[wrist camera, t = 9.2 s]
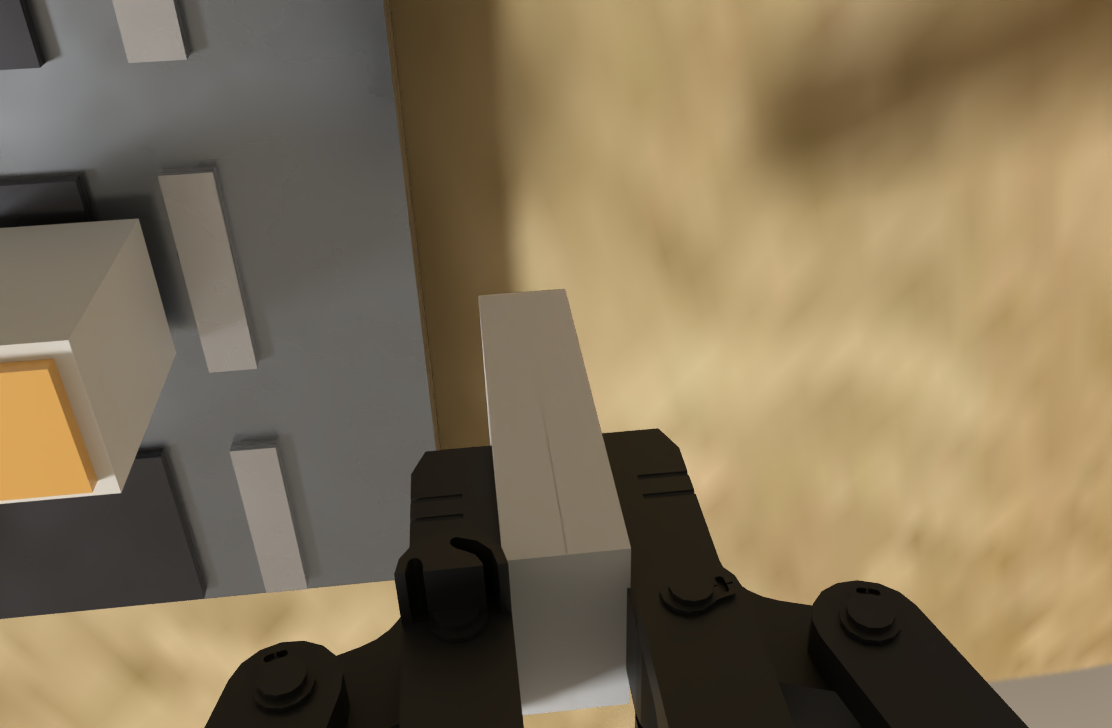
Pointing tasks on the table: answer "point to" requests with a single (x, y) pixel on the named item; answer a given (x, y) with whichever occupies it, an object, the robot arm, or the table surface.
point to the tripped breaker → (77, 357)
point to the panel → (230, 290)
